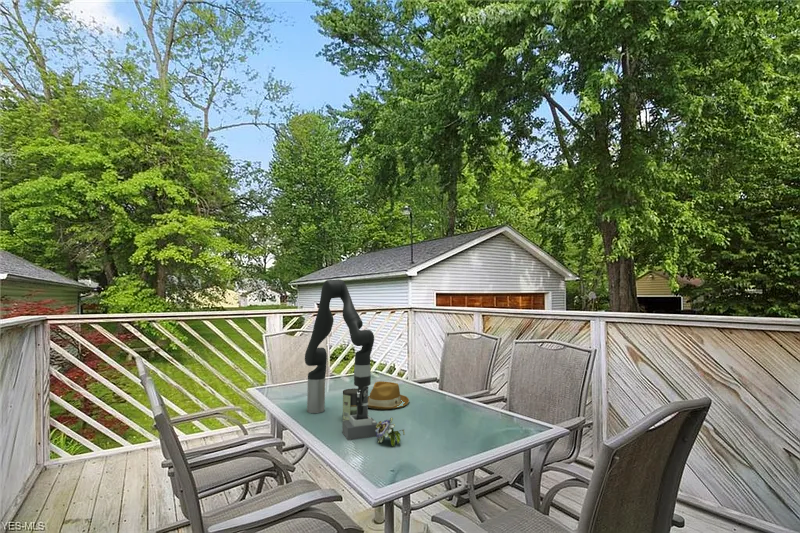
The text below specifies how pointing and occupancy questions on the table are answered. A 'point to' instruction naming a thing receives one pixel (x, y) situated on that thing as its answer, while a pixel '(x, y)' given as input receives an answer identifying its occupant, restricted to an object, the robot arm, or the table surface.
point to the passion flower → (387, 432)
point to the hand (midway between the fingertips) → (361, 412)
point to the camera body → (359, 428)
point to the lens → (365, 410)
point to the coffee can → (349, 403)
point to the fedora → (386, 396)
